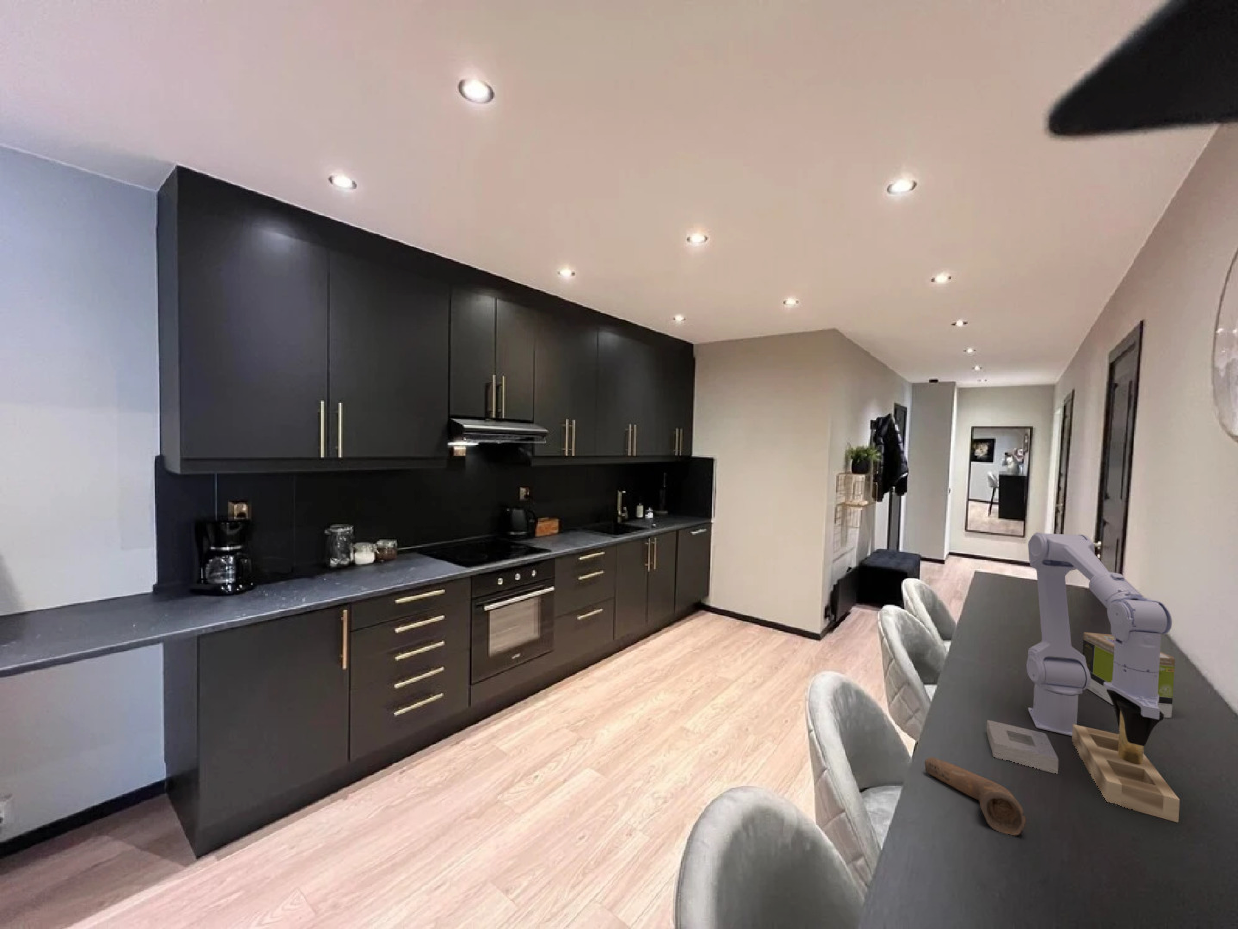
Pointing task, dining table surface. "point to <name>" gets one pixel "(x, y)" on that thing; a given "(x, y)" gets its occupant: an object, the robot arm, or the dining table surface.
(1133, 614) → the robot arm
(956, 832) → the dining table surface
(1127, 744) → the tan brown peg
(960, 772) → the pipe
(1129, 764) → the rack
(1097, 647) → the tea box
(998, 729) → the socket block
